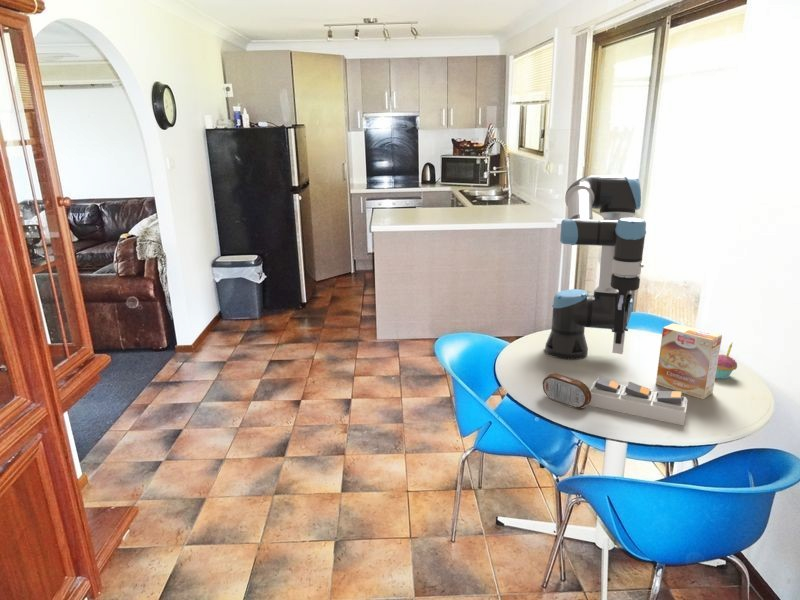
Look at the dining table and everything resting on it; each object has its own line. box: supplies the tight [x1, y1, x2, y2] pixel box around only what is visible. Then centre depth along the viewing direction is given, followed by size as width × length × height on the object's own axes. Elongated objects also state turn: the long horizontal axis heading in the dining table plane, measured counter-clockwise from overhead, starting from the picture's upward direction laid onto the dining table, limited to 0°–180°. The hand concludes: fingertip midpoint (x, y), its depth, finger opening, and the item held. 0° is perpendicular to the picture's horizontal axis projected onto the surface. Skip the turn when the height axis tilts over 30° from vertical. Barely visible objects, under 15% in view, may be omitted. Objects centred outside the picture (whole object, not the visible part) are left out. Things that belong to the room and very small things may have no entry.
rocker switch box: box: [587, 379, 688, 426], centre depth 162 cm, size 28×9×5 cm, turn 61°
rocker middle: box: [625, 381, 651, 399], centre depth 161 cm, size 6×5×2 cm
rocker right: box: [657, 390, 683, 404], centre depth 157 cm, size 6×5×2 cm
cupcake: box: [715, 342, 738, 380], centre depth 181 cm, size 9×8×12 cm
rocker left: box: [595, 375, 620, 393], centre depth 165 cm, size 6×5×2 cm
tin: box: [542, 372, 591, 410], centre depth 165 cm, size 15×3×8 cm, turn 44°
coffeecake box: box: [655, 322, 723, 400], centre depth 172 cm, size 15×7×20 cm, turn 40°
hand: (617, 352), depth 161 cm, fingers closed
